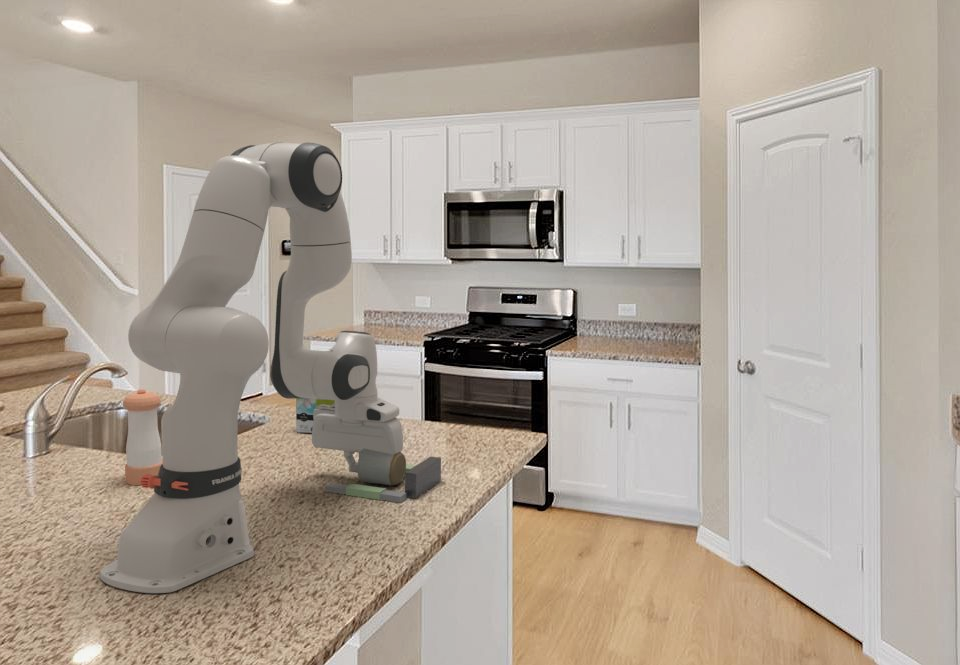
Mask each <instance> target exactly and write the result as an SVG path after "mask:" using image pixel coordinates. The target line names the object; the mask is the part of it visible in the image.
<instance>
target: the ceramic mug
mask: <svg viewBox="0 0 960 665" xmlns="http://www.w3.org/2000/svg"><path fill="white" fill-rule="evenodd" d="M357 462H358V466H357V472H358V473H357V477H358V479H359V481H361V482H363V483H370V484H376V485H383V486H389V487H390V486H397V485H399V484H400V483H401V482H402V481H403V479H404V478H405V469H406V465H407V460H406V457H405V455H404V453H403V452H402V451H401V452H399V453H397V454H395V455H391V454H388V453H382V452H378V451H373V450H369V449H363V450H362V452H361V454H360V456H359V455H358V460H357Z"/></svg>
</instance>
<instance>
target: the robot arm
mask: <svg viewBox="0 0 960 665" xmlns="http://www.w3.org/2000/svg"><path fill="white" fill-rule="evenodd" d="M342 184H343V170H342V166H341V164H340V160H339V159H338V158H337V157H336V155H335V153H334V151H332V149H331V148H330V147H328V146H326V145H323V144H319V143H314V142H303V143H299V142H298V143H296V142H282V141H280V142H279V141H278V142H277V141H275V142H267V143H263V144H257V145H255V144H250V145H246V146H243V147H240V148H239V149H237V150H235V151H233V152H232V153H231V154H230V155H227V156H223V157H221V158H219V159H218V160H216V161H215V162H214V163H213V164H212V167H211V168H210V170H209V172H208V174H207V176H206V178H205V179H204V182H203V184H202V187H201V189H200V190H199V193H198V197H197V198H196V202H195V205H194V208H193V210H192V211H193V212H192V215H191V219H190V222H189V226H188V229H187V231H186V236H185V239H184V241H183V246H182V249H181V252H180V255H179V257H178V259H177V261H176V263H175V266H174V268H173V269H172V272H171V273H170V275H169V277H168V278H167V280H166V281H165V283H164V285H163V286H162V288H161V289H160V291H159V292H158V294H157V295H156V296H155V298H154V299H153V300H152V301H151V303H150V304H149V305H148V306H147V307H146V308H144V309H143V310H142V311H140V312H139V313H137V315H136V316H135V317H134V318H133V319H132V320H131V321H132V322H131V324H130V325H129V327H128V328H129V330H128V338H127V339H128V345H129V347H130V349H131V353H132V354H133V355H134V356H135V357H136V358H137V359H138V360H140V361H141V362H143V363H145V364H147V365H148V366H150V367H152V368H154V369H157V370H159V371H162V372H167V373H168V372H169V373H173V374H179V376H180V377H179V378H180V379H179V386H178V390H177V393H176V397H175V400H174V402H173V403H172V405H170V406H169V407H168V408H167V409H166V410H165V411H164V412H163V414H162V416H161V419H160V420H161V422H160V424H161V425H160V426H161V430H160V431H161V451H162V461H163V464H162V465H161V466H160V469H159V472H158V476H156V475H153V476H152V475H149V474H144V475H143V476H142V478H141V479H140V481H141V482H140V483H142V484H140V485H139V486H141V487H142V488H145V489H147V488H149V489H153V492H154V493H153V495H152V496H151V497H150V498H149V499H148V501H147V502H146V503H145V504H144V506H143V507H142V508H141V509H140V510H139V511H138V513H137V514H135V517H133V518H132V520H131V521H130V522H129V523H128V525H126V527H125V528H124V529H123V530H122V532H121V533H120V536H119V541H118V548H117V559H115V560H114V561H112V562H110V563H109V564H107V565H106V566H104V567H103V568H101V569H100V570H99V571H100V572H99V578H100V580H101V581H102V582H104V583H105V584H106V585H108V586H111V587H113V588H117V589H121V590H125V591H129V592H130V591H131V592H137V593H145V594H165V593H173V592H176V591H179V590H181V589H183V588H185V587H188V586H190V585H192V584H194V583H197V582H199V581H202V580H203V579H206V578H208V577H211V576H213V575H215V574H217V573H219V572H221V571H224V570H226V569H228V568H230V567H233V566H235V565H237V564H239V563H241V562H244V561H246V560H248V559H251V558H253V557H254V556H255V550H254V547H253V546H252V545H251V544H252V540H251V538H250V534H249V530H248V521H247V514H246V507H245V501H244V499H243V497H242V493H241V489H240V483H241V481H242V472H243V468H242V462H241V458H240V457H239V456H238V455H239V453H238V451H239V449H238V447H239V446H238V432H239V430H238V425H239V424H238V418H239V410H240V404H241V400H242V397H243V393H244V391H245V388H246V385H247V383H248V382H249V381H250V379H251V377H252V376H253V375H254V374H255V373H256V372H258V371H259V370H260V368H261V367H262V366H263V365H264V363H265V361H266V359H267V356H268V352H269V348H270V347H269V336H268V331H267V329H266V327H265V325H264V324H263V323H262V322H261V320H260V319H258V318H257V317H255V316H254V315H252V314H249V313H246V311H243V310H238V309H236V308H233V307H227V305H228V303H229V302H230V300H231V299H232V297H233V296H234V295H236V292H238V291H239V290H240V289H242V288H243V287H245V286H246V285H247V284H248V283H249V282H250V281H251V279H252V278H253V275H254V273H255V269H256V266H257V261H258V257H259V253H260V250H261V245H262V242H263V238H264V234H265V230H266V226H267V221H268V216H269V210H270V208H271V207H273V208H280V209H285V211H286V212H287V214H288V216H289V217H288V218H289V238H290V257H289V258H290V259H289V263H288V267H287V269H286V270H285V271H284V272H283V273H282V274H281V276H280V277H279V280H278V285H277V292H276V294H277V295H276V309H275V326H274V327H275V329H274V330H275V331H274V333H275V334H274V348H273V354H272V355H273V356H272V360H271V365H270V371H269V377H270V381H271V384H272V386H273V388H274V389H275V391H276V392H277V393H278V395H280V396H281V397H282V398H285V399H289V400H290V399H293V400H294V399H295V400H296V399H297V398H309V399H320V400H335V405H325V404H320V405H319V406H317V407H316V408H315V409H314V411H313V419H314V422H313V429H312V433H311V443H312V445H313V446H314V448H317V449H325V450H334V451H340V452H341V451H343V456H344V459H345V460H346V462H347V464H348V472H350V473H357V474H358V472H357V466H358V461H356V459H355V457H354V454H355V453H358V457H359V456H360V454H361V452H362V450H363V449H369V450H373V451H378V452H382V453H388V454H391V455H395V454H397V453H399V452H401V453H402V451H403V449H404V438H403V437H404V436H403V434H404V433H403V429H402V428H403V426H402V423H401V421H400V419H398V418H397V417H398V416H400V408H399V406H397V405H396V404H394V403H390V402H388V401H386V400H384V399H382V398H380V397H379V396H378V388H377V384H376V382H377V376H378V356H377V354H378V352H377V346H376V342H375V341H376V340H375V338H374V335H372V334H371V333H369V332H365V331H357V330H342V331H339V332H338V333H337V335H336V340H335V344H334V345H333V346H332V347H331V348H329V349H328V350H315V349H313V350H312V349H307V348H306V347H305V345H304V331H305V330H304V327H305V311H306V306H307V304H308V302H309V301H310V300H311V299H312V298H313V297H314V296H317V295H319V294H321V293H323V292H326V291H328V290H331V289H332V288H335V287H336V286H338V285H339V284H340V283H342V282H343V281H344V280H345V278H347V276H348V274H349V273H350V270H351V268H352V260H353V258H352V256H353V253H352V242H351V232H350V223H349V219H348V214H347V210H346V206H345V202H344V198H343V195H342V193H341V189H342ZM317 408H319V409H317Z"/></svg>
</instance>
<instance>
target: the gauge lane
mask: <svg viewBox="0 0 960 665" xmlns="http://www.w3.org/2000/svg"><path fill="white" fill-rule="evenodd" d="M415 466H416V465H413V464H406V469H405V472H407V471H408V470H410V469H411V468H413V467H415ZM323 487H324V489H323V490H324V491H326V492H325V493H330V492H333V493H332V494H337V493H339V494H338V495H344V494H346V495H345V496H349V495H351V496H352V497H356V496H357V498H362V497H364V498H363V499H369V498H370V499H372V500H376V499H377V501H384V500H386V501H385V502H391V503H392V502H393V503H398V504H399V503H400V504H401V503H403V502H404V501H405V500H407V497H406V493H405V492H403V491H395V490H389V489H387V488H385V487H377V486H370V485H364V484H357V483H352V484H346V483H338V482H329V483H327V484H325V485H324V486H323ZM351 496H350V497H351ZM370 499H369V500H370Z"/></svg>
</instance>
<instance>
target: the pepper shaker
mask: <svg viewBox="0 0 960 665" xmlns="http://www.w3.org/2000/svg"><path fill="white" fill-rule="evenodd" d="M161 403H162V400H161V398H160V397H159V395H158V394H157V393H154V392H150V391H147V390H146V389H144V388H139V389H138V390H137V392H133V393H130V394H128V395H126V397H125V398H124V399H123V403H122V405H123V407H124V409H125V410H126V411H127V427H128V428H127V430H128V431H127V438H126V446H125V453H126V454H125V455H126V463H125V465H124V472H125V473H124V475H125V478H124V479H125V484H128V485H130V486H141V485H140V484H142V483H140V482H141V481H140V479H141V478H142V476H143V475H144V474H149V475H152V476H153V475H156V476H158V472H159V469H160V466H161V465H162V464H163V459H162V440H161V438H160V432H159V426H158V425H159V424H158V423H159V421H158V408H159V407H160V405H161Z"/></svg>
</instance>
